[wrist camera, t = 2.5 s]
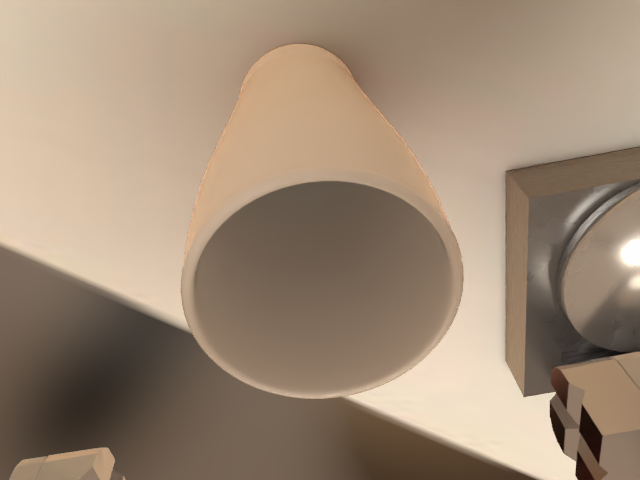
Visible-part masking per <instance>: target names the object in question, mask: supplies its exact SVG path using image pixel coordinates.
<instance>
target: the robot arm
mask: <svg viewBox="0 0 640 480" xmlns="http://www.w3.org/2000/svg"><path fill="white" fill-rule="evenodd" d="M551 385H552V386H553V388H554V390H555V391H556V394H555V396H554V397H553V398H552V399H551V400H550V418H551V423H552V428H553V431H554V434H555V436H556V439H557V442H558V443H559V445H560V447H561V449H562V451H563V453H564V454H565V455H567V456H568V457H570V458H572V459H573V460H575V461H576V474H575V475H576V477H577V479H578V480H640V352H633V353H628V354H622V355H617V356H612V357H609V358H608V357H606V358H600V359H595V360H590V361H584V362H579V363H574V364H568V365H563V366H558V367H554V369H553V371H552V373H551ZM114 462H115V459H114V457H113V456H112V454H111V452H110V450H109V449H108V448H96V449H89V450H83V451H76V452H69V453H63V454H56V455H50V456H46V457H40V458H33V459H26V460H22V461H21V462H20V463H19V464H18V465H17V466H16V467H15V469H14V471H13V473H12V475H11V477H10V479H9V480H125V478H124V476H123V475H121V474H119V473H117V472H115V471H113V470H112V469H113V465H114Z"/></svg>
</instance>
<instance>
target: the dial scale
mask: <svg viewBox="0 0 640 480" xmlns="http://www.w3.org/2000/svg"><path fill="white" fill-rule="evenodd" d="M633 352H640V147H636V148H631V149H625V150H620V151H615V152H609V153H604V154H598V155H593V156H587V157H582V158H577V159H571V160H566V161H560V162H555V163H549V164H544V165H539V166H533V167H528V168H522V169H517V170H511V171H506V362H507V364H508V366H509V368H510V370H511V372H512V374H513V376H514V378H515V380H516V382H517V384H518V386H519V388H520V390H521V392H522V394H523V396H524V397H527V396H533V395H539V394H544V393H550V392H556V391H555V390H554V388H553V386H552V385H551V373H552V371H553V369H554V367H558V366H563V365H568V364H574V363H579V362H584V361H590V360H595V359H600V358H606V357H608V358H609V357H612V356H617V355H622V354H628V353H633Z"/></svg>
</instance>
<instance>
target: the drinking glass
mask: <svg viewBox="0 0 640 480" xmlns="http://www.w3.org/2000/svg"><path fill="white" fill-rule="evenodd" d="M463 279H464V278H463V263H462V257H461V253H460V249H459V246H458V243H457V240H456V238H455V235H454V233H453V231H452V229H451V227H450V224H449V222H448V220H447V217H446V215H445V212H444V210H443V208H442V205H441V203H440V201H439V199H438V197H437V195H436V192H435V190H434V188H433V187H432V185H431V183H430V181H429V179H428V177H427V176H426V174H425V172H424V170H423V168H422V167H421V165H420V163H419V162H418V160H417V159H416V157H415V155H414V154H413V152H412V151H411V150H410V148H409V147H408V146H407V144H406V143H405V141H404V140H403V139H402V137H401V136H400V135H399V134H398V132H397V131H396V130H395V129H394V127H393V126H392V125H391V124H390V123H389V121H388V120H387V119H386V118H385V117H384V116H383V114H382V113H381V112H380V111H379V110H378V109H377V107H376V106H375V105H374V104H373V103H372V101H371V100H370V99H369V98H368V97H367V95H366V94H365V93H364V92H363V90H362V89H361V88H360V87H359V86H358V84H357V83H356V81H355V79H354V77H353V75H352V73H351V72H350V70H349V69H348V68H347V66H346V65H345V64H344V63H343V62H342V61H341V60H340V59H339V58H338V57H337V56H335V55H334V54H332V53H331V52H329V51H327V50H325V49H323V48H321V47H318V46H314V45H310V44H289V45H285V46H281V47H278V48H276V49H273V50H271V51H270V52H268V53H266V54H265V55H263V56H262V57H261V58H260V59H259V60H258V61H257V62H256V63H255V64H254V65H253V66H252V67H251V68H250V70H249V72H248V73H247V75H246V77H245V79H244V81H243V84H242V87H241V90H240V95H239V99H238V101H237V103H236V106H235V108H234V110H233V112H232V114H231V116H230V118H229V121H228V123H227V125H226V127H225V129H224V131H223V133H222V135H221V137H220V139H219V141H218V144H217V146H216V148H215V150H214V152H213V154H212V156H211V159H210V161H209V163H208V166H207V168H206V171H205V173H204V176H203V179H202V181H201V184H200V187H199V190H198V194H197V198H196V201H195V205H194V209H193V213H192V217H191V221H190V226H189V232H188V238H187V244H186V251H185V258H184V265H183V270H182V277H181V298H182V305H183V310H184V314H185V317H186V320H187V323H188V326H189V328H190V330H191V332H192V334H193V336H194V337H195V339H196V341H197V342H198V344H199V345H200V346H201V348H202V349H203V350H204V352H205V353H206V354H207V355H208V356H209V357H210V358H211V359H212V360H213V361H214V362H215V363H216V364H217V365H219V366H220V367H221V368H222V369H223V370H225V371H226V372H228V373H229V374H230V375H232V376H234V377H235V378H237V379H239V380H240V381H242V382H244V383H246V384H248V385H251V386H253V387H255V388H258V389H261V390H264V391H267V392H270V393H274V394H278V395H283V396H288V397H296V398H309V399H311V398H312V399H319V398H334V397H342V396H348V395H352V394H357V393H361V392H364V391H367V390H370V389H373V388H376V387H378V386H381V385H383V384H385V383H388V382H390V381H392V380H394V379H396V378H397V377H399V376H401V375H403V374H404V373H406V372H407V371H409V370H410V369H412V368H413V367H414V366H416V365H417V364H418V363H419V362H421V361H422V360H423V359H424V358H425V357H426V356H427V355H428V354H429V353H430V352H431V351H432V350H433V349H434V348H435V347H436V346H437V345H438V343H439V342H440V341H441V340H442V338H443V337H444V335H445V334H446V332H447V331H448V329H449V327H450V326H451V324H452V322H453V320H454V317H455V315H456V313H457V310H458V307H459V304H460V300H461V296H462V291H463Z"/></svg>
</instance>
